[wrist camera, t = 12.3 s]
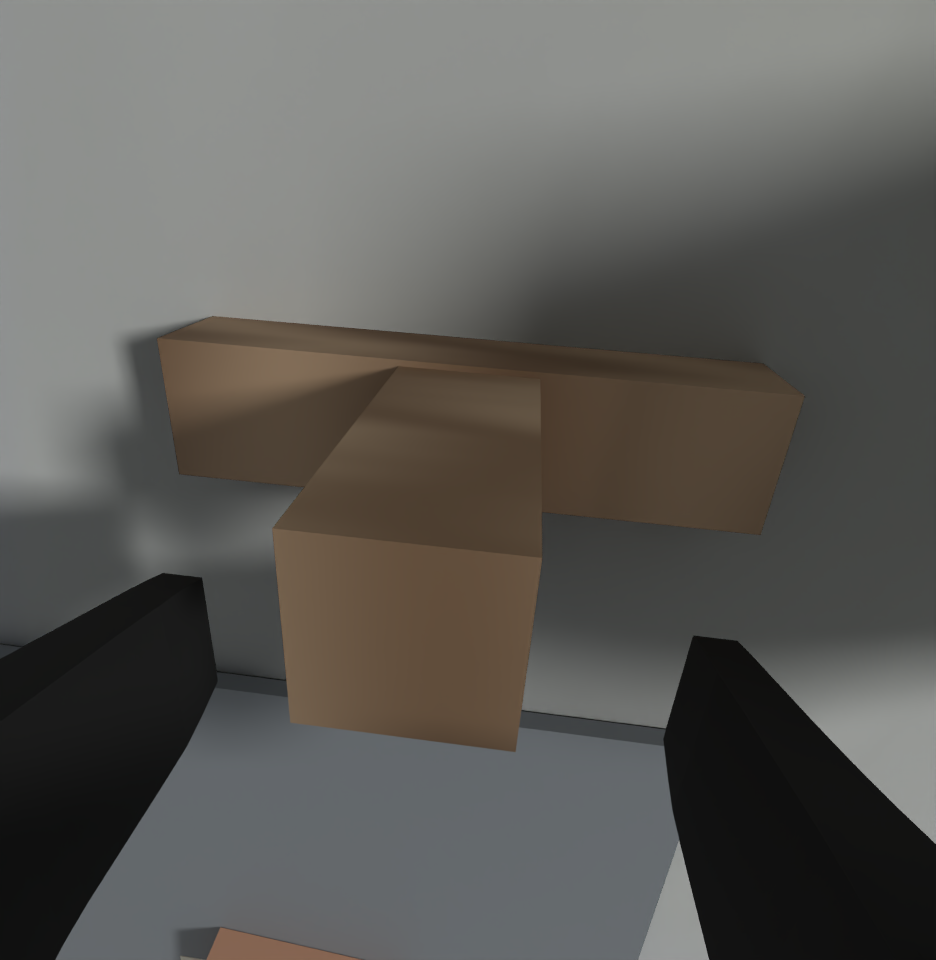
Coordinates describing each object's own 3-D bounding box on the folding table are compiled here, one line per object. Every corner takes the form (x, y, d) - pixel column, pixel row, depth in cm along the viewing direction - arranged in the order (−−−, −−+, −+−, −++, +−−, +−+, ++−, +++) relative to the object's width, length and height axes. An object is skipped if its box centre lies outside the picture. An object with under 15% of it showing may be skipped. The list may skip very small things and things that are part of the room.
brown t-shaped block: (230, 432, 12) (-80, 680, 6) (216, 314, 11) (-173, 469, 5) (726, 482, 12) (939, 814, 6) (760, 361, 11) (1071, 604, 4)
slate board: (92, 1047, 25) (83, 1063, 25) (-83, 633, 16) (-102, 647, 15) (572, 1129, 24) (573, 1148, 24) (703, 734, 14) (709, 752, 14)
